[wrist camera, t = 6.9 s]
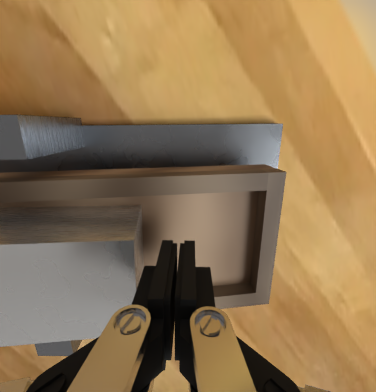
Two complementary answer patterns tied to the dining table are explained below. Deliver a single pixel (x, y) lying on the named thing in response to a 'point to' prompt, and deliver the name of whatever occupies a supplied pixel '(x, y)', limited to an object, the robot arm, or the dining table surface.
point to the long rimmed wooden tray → (181, 215)
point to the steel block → (66, 270)
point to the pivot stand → (127, 153)
